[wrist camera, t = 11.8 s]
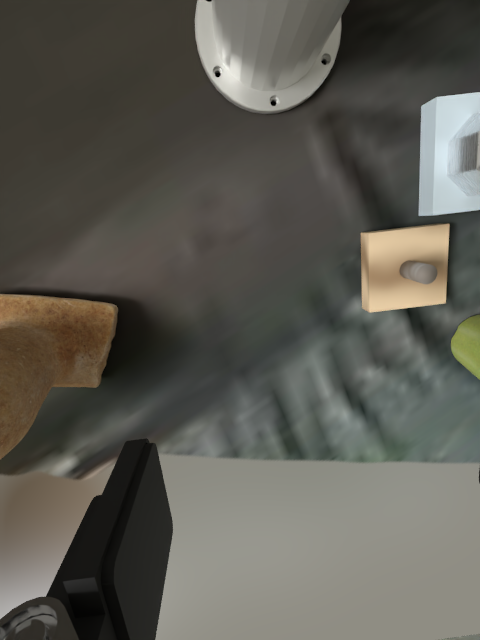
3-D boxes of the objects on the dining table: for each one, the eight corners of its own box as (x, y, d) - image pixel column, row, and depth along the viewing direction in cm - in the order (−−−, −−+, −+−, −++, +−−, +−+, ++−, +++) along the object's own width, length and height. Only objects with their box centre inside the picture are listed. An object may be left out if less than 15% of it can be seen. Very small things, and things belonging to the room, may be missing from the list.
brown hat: (-19, 389, 39) (-161, 488, 25) (-28, 283, 36) (-197, 326, 22) (120, 400, 40) (62, 501, 26) (123, 299, 37) (59, 349, 23)
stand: (360, 232, 36) (384, 234, 31) (437, 223, 36) (474, 224, 31) (362, 307, 38) (384, 321, 33) (434, 299, 38) (468, 311, 33)
